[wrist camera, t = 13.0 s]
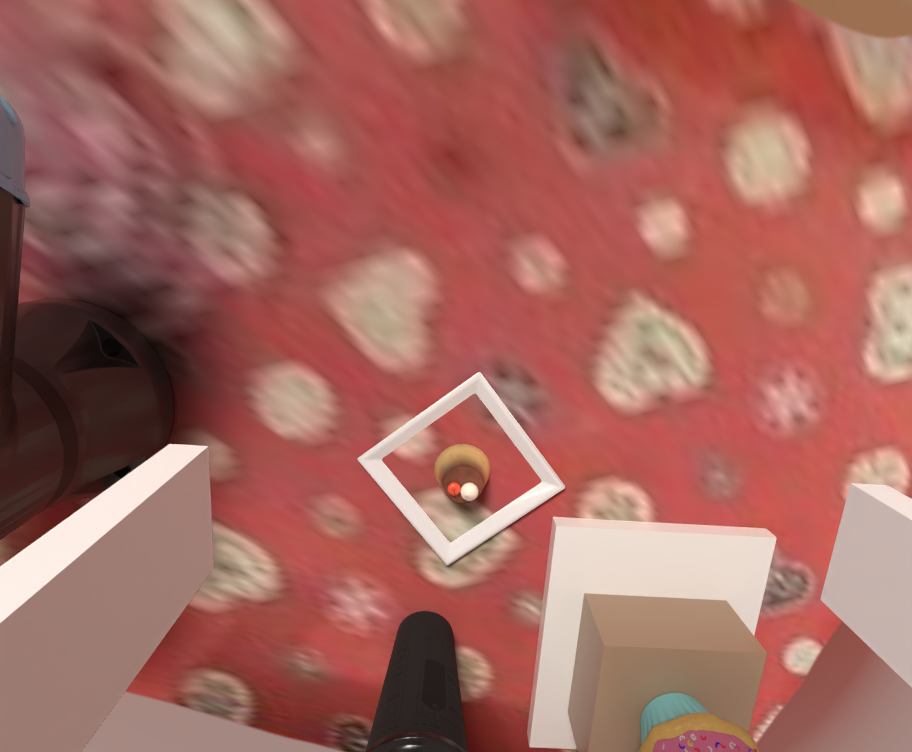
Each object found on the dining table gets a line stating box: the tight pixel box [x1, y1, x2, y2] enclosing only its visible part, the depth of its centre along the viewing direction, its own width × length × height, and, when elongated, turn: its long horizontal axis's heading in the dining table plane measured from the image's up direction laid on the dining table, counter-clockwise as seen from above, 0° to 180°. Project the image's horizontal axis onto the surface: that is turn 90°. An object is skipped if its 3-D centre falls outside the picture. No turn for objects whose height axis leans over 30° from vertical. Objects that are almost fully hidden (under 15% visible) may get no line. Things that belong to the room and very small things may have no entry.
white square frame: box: [358, 372, 565, 566], centre depth 42 cm, size 12×12×5 cm
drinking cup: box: [366, 611, 468, 752], centre depth 38 cm, size 8×8×20 cm
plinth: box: [527, 517, 777, 752], centre depth 44 cm, size 18×22×8 cm
